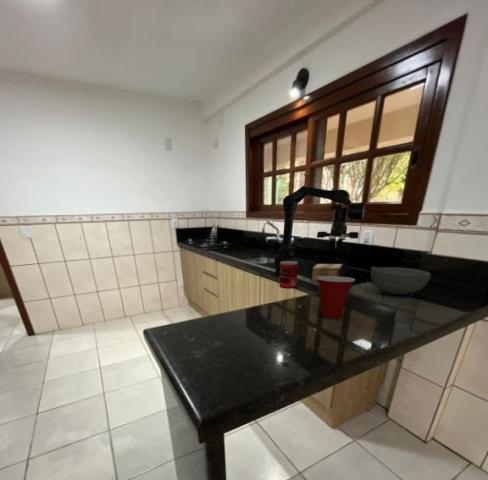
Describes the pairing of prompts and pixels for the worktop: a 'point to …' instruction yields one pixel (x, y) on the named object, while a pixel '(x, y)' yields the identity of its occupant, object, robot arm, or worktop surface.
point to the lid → (327, 266)
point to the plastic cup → (333, 294)
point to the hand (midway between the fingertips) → (335, 253)
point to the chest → (324, 273)
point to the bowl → (399, 279)
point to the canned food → (288, 274)
